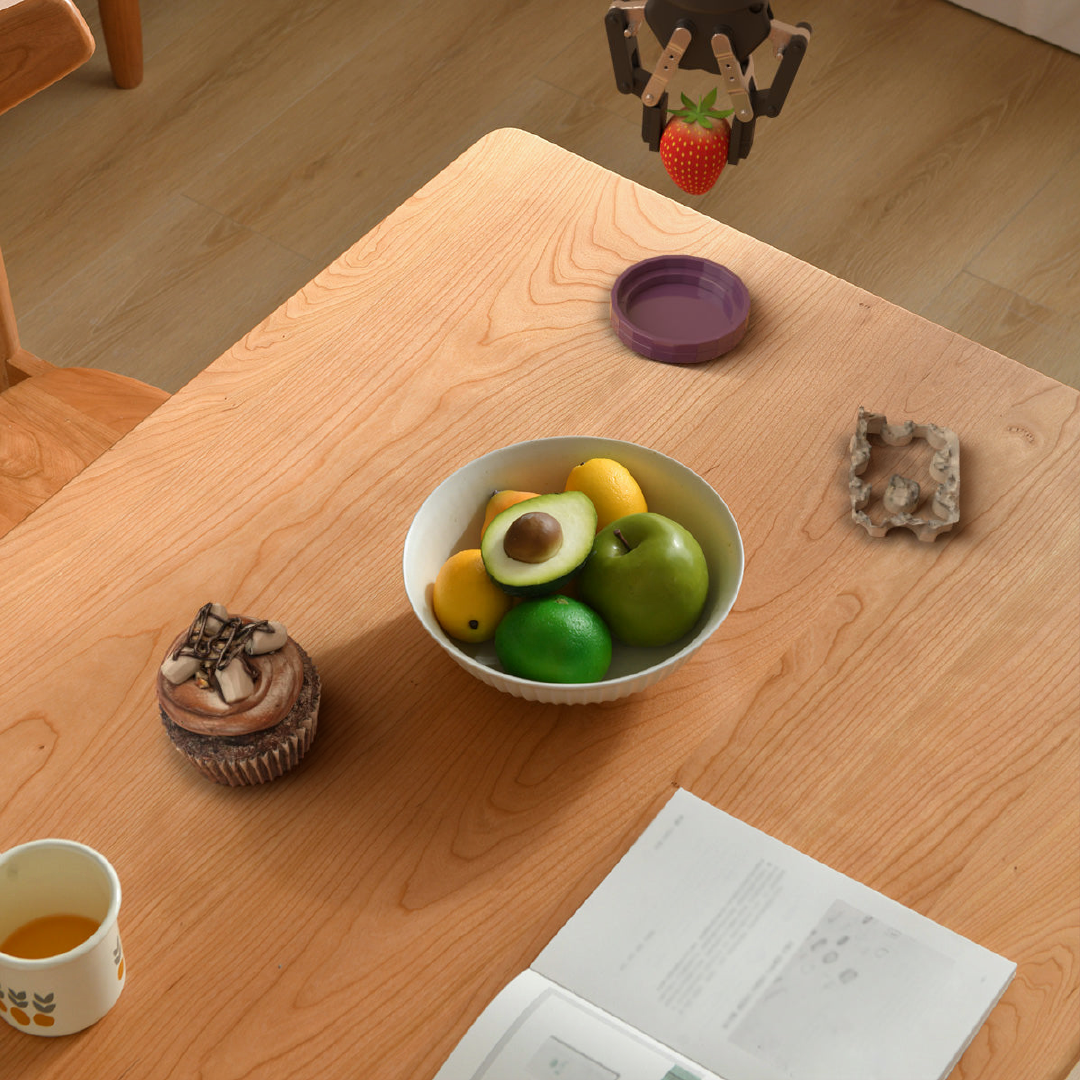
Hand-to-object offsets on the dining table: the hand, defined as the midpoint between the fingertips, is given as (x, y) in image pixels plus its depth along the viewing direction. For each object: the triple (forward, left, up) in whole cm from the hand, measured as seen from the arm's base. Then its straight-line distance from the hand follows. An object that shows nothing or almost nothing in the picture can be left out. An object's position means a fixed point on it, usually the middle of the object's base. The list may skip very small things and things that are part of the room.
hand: (695, 151), depth 97 cm
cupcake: (+16, +46, -16) cm, 51 cm away
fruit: (0, 0, -4) cm, 4 cm away
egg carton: (-19, +14, -16) cm, 29 cm away
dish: (0, 0, -16) cm, 16 cm away
